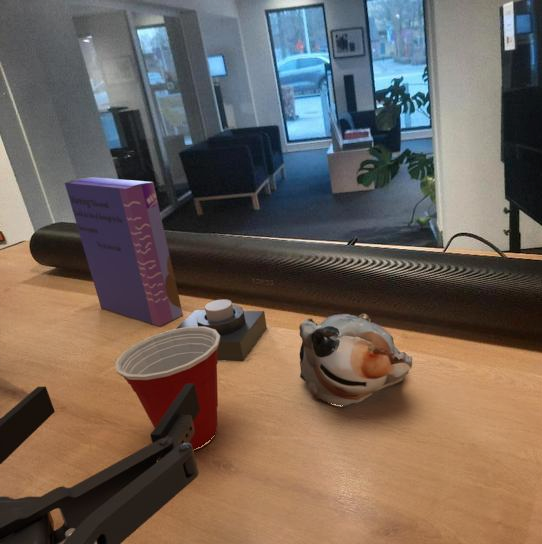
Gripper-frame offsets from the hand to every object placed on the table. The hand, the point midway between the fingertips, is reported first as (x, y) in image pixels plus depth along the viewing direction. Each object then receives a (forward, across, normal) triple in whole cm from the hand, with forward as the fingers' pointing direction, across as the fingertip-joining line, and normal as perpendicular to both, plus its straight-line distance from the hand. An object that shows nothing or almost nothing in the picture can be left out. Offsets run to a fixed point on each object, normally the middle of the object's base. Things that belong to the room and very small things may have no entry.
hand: (119, 397), depth 44 cm
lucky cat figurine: (+19, +19, -13) cm, 30 cm away
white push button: (+31, -3, -8) cm, 32 cm away
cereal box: (+43, -23, -12) cm, 50 cm away
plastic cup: (+10, 0, -13) cm, 16 cm away
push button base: (+31, -4, -12) cm, 34 cm away
